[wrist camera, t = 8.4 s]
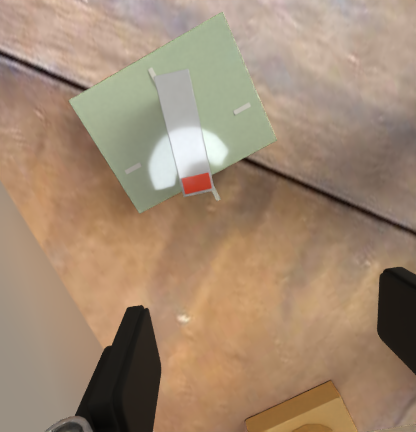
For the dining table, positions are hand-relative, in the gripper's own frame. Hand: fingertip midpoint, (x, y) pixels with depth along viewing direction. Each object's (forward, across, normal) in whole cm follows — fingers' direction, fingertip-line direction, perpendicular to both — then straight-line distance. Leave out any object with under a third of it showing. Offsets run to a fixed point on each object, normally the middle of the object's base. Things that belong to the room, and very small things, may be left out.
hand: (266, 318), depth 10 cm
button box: (+16, -7, +30) cm, 35 cm away
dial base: (+16, +3, -8) cm, 18 cm away
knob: (+13, +2, -8) cm, 15 cm away
